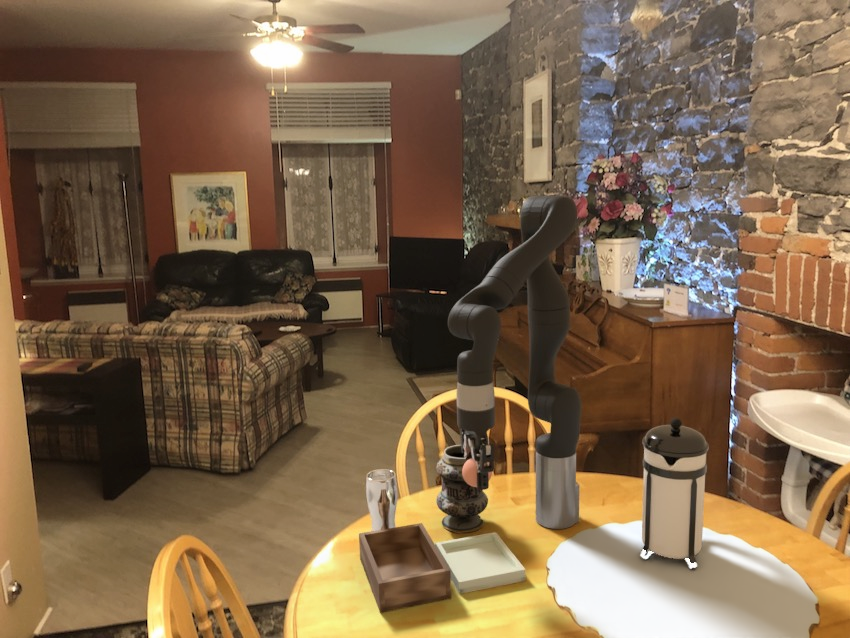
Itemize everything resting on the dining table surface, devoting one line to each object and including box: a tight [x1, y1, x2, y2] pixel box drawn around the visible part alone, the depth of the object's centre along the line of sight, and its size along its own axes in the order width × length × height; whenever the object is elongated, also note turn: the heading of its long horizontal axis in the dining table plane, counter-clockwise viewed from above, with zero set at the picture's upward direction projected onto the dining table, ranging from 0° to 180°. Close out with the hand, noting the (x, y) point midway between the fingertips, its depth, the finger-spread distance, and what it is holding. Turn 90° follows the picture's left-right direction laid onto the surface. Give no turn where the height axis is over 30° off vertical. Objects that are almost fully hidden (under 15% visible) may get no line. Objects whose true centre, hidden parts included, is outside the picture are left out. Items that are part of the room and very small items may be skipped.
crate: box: [358, 522, 452, 614], centre depth 141 cm, size 14×20×6 cm
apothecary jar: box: [435, 444, 489, 534], centre depth 162 cm, size 12×12×18 cm
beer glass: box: [365, 468, 398, 532], centre depth 157 cm, size 7×7×15 cm
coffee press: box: [641, 417, 710, 563], centre depth 146 cm, size 17×16×30 cm
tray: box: [434, 531, 526, 594], centre depth 144 cm, size 14×16×2 cm
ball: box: [462, 458, 493, 487], centre depth 141 cm, size 6×6×6 cm
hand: (477, 482), depth 141 cm, fingers closed on ball, 6 cm apart
